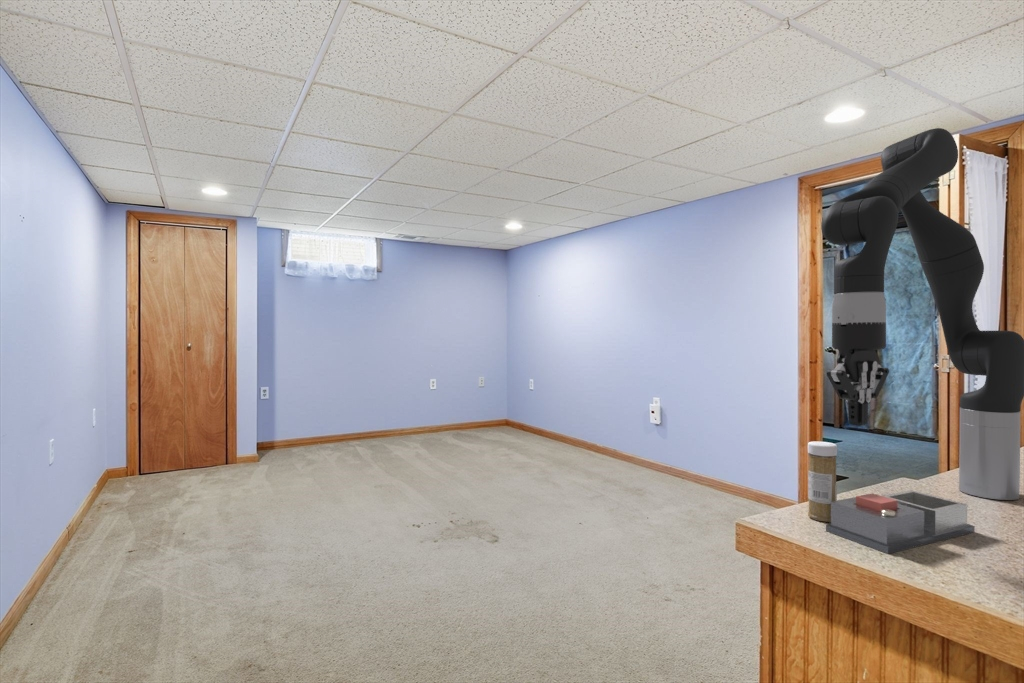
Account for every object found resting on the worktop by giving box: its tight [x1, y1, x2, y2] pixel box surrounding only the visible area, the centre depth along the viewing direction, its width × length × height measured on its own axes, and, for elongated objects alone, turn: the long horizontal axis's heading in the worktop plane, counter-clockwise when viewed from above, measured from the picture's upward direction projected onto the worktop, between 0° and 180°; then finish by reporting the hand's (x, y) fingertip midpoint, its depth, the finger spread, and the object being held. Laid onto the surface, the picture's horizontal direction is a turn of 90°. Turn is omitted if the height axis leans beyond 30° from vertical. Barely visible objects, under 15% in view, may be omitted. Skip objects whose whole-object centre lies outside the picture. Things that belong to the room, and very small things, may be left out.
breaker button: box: [855, 493, 897, 512], centre depth 86 cm, size 4×4×5 cm
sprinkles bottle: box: [807, 440, 838, 523], centre depth 95 cm, size 5×5×14 cm
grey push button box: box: [825, 490, 976, 554], centre depth 89 cm, size 22×10×6 cm, turn 113°
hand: (858, 424), depth 89 cm, fingers closed
